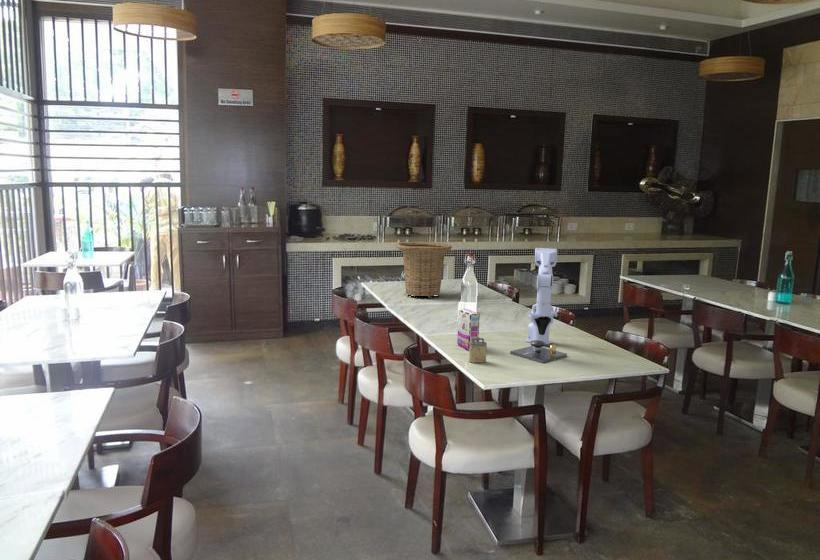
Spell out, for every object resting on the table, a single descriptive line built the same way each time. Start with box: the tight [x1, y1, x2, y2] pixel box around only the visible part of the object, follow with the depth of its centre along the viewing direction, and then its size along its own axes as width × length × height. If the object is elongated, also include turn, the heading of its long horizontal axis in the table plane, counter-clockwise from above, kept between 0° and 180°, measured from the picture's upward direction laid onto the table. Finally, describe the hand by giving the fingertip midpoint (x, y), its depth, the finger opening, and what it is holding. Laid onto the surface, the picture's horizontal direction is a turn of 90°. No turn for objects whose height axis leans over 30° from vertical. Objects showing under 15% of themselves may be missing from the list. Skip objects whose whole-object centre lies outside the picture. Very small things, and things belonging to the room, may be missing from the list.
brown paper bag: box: [468, 337, 488, 364], centre depth 251 cm, size 7×4×10 cm, turn 98°
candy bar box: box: [456, 308, 481, 352], centre depth 272 cm, size 11×5×16 cm, turn 23°
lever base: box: [509, 345, 568, 364], centre depth 264 cm, size 17×17×4 cm
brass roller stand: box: [530, 340, 557, 354], centre depth 264 cm, size 12×6×4 cm, turn 47°
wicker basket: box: [396, 241, 453, 297], centre depth 394 cm, size 35×35×33 cm
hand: (541, 334), depth 260 cm, fingers closed
